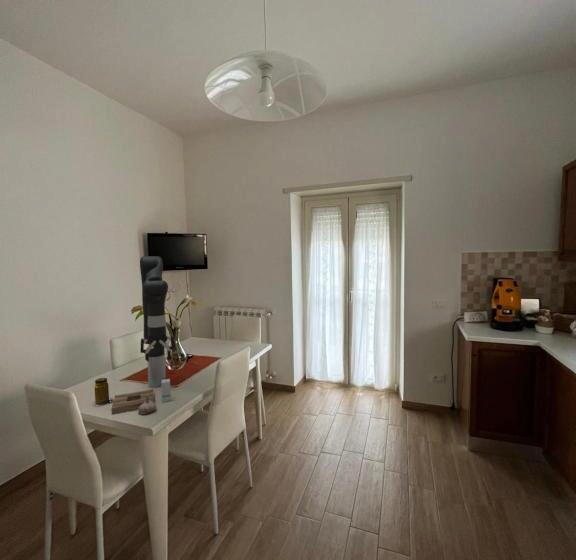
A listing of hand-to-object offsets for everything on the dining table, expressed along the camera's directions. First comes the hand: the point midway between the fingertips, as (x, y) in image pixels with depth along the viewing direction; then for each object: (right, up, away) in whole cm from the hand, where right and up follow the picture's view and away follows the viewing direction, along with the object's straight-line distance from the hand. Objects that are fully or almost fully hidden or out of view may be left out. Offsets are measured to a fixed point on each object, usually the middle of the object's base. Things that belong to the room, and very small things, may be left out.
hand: (158, 359), depth 141 cm
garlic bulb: (-7, -26, +5) cm, 28 cm away
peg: (-3, -25, +18) cm, 31 cm away
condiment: (-34, -26, +16) cm, 46 cm away
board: (-18, -26, +14) cm, 34 cm away
